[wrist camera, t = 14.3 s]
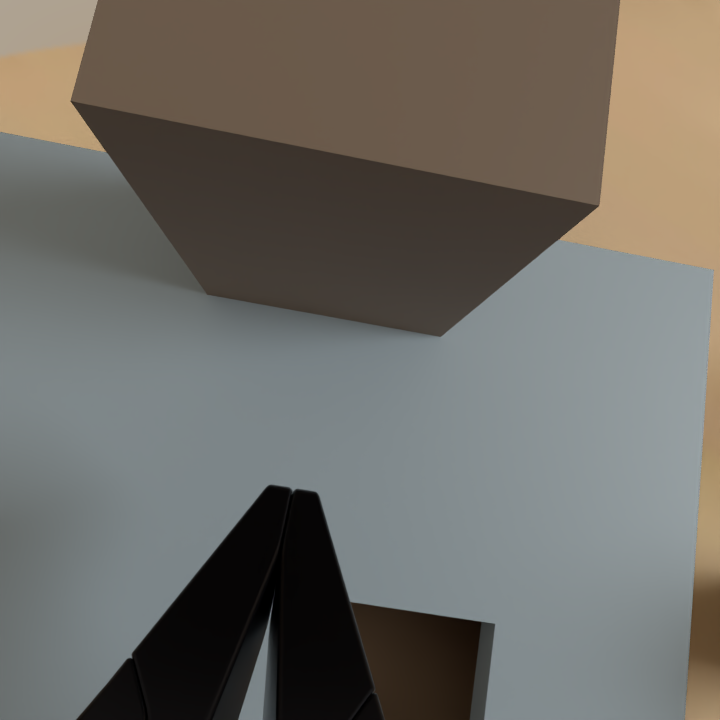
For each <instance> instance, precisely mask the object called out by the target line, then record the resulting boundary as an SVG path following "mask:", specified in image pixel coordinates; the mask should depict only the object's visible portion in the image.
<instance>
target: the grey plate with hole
mask: <svg viewBox="0 0 720 720" xmlns="http://www.w3.org/2000/svg"><path fill="white" fill-rule="evenodd" d="M619 5H620V0H98V2H97V6H96V10H95V13H94V17H93V21H92V25H91V28H90V32H89V36H88V40H87V43H86V46H85V50H84V54H83V57H82V61H81V65H80V68H79V72H78V76H77V79H76V83H75V87H74V90H73V94H72V98H71V102H72V104H73V105H74V107H75V108H76V109H77V111H78V112H79V114H80V115H81V116H82V118H83V119H84V121H85V122H86V124H87V125H88V126H89V128H90V129H91V131H92V132H93V133H94V135H95V136H96V138H97V139H98V141H99V142H100V143H101V145H102V146H103V148H104V149H105V150H106V152H107V153H106V152H101V151H96V150H91V149H85V148H80V147H75V146H70V145H65V144H60V143H54V142H49V141H44V140H39V139H34V138H29V137H23V136H18V135H13V134H8V133H3V132H0V720H76V719H77V718H78V717H79V715H80V714H81V713H82V712H83V711H84V710H85V708H86V707H87V706H88V705H89V704H90V703H91V701H92V700H93V699H94V698H95V697H96V695H97V694H98V693H99V692H100V691H101V690H102V688H103V687H104V686H105V685H106V684H107V683H108V681H109V680H110V679H111V678H112V676H113V675H114V674H115V673H116V672H117V670H118V669H119V668H120V667H121V665H122V664H123V663H124V662H125V660H126V659H127V658H132V652H133V651H134V650H135V648H136V647H137V646H138V645H139V644H140V642H141V641H142V640H143V639H144V637H145V636H146V635H147V634H148V632H149V631H150V630H151V629H152V627H153V626H154V625H155V624H156V622H157V621H158V620H159V619H160V618H161V616H162V615H163V614H164V613H165V611H166V610H167V609H168V608H169V606H170V605H171V604H172V603H173V601H174V600H175V599H176V598H177V597H178V595H179V594H180V593H181V592H182V590H183V589H184V588H185V587H186V585H187V584H188V583H189V582H190V580H191V579H192V578H193V577H194V576H195V574H196V573H197V572H198V571H199V569H200V568H201V567H202V566H203V564H204V563H205V562H206V561H207V559H208V558H209V557H210V556H211V554H212V553H213V552H214V551H215V550H216V548H217V547H218V546H219V545H220V543H221V542H222V541H223V540H224V538H225V537H226V536H227V535H228V533H229V532H230V531H231V530H232V529H233V527H234V526H235V525H236V524H237V522H238V521H239V520H240V519H241V517H242V516H243V515H244V514H245V512H246V511H247V510H248V509H249V508H250V506H251V505H252V504H253V503H254V501H255V500H256V499H257V498H258V496H259V495H260V494H261V493H262V491H263V490H264V489H265V488H266V487H267V486H268V485H271V484H273V485H279V486H285V487H290V488H291V489H292V491H294V490H295V489H304V490H310V491H315V492H317V493H318V495H319V497H320V500H321V503H322V507H323V510H324V514H325V517H326V520H327V524H328V527H329V531H330V534H331V538H332V541H333V544H334V548H335V551H336V555H337V558H338V562H339V565H340V568H341V572H342V575H343V579H344V582H345V585H346V589H347V592H348V596H349V599H350V602H354V603H361V604H367V605H374V606H381V607H387V608H394V609H401V610H407V611H414V612H421V613H427V614H434V615H441V616H447V617H454V618H460V619H467V620H474V621H480V622H481V630H480V639H479V647H478V655H477V663H476V671H475V680H474V688H473V696H472V704H471V713H470V720H685V709H686V693H687V678H688V662H689V647H690V631H691V616H692V600H693V584H694V569H695V553H696V538H697V522H698V507H699V491H700V475H701V460H702V444H703V429H704V413H705V398H706V382H707V366H708V351H709V335H710V320H711V304H712V289H713V273H714V270H711V269H706V268H701V267H695V266H690V265H685V264H680V263H675V262H670V261H664V260H659V259H654V258H649V257H644V256H639V255H633V254H628V253H623V252H618V251H613V250H608V249H602V248H597V247H592V246H587V245H582V244H577V243H571V242H566V241H561V240H558V239H560V238H561V237H562V236H563V235H565V234H566V233H567V232H568V231H569V230H571V229H572V228H573V227H574V226H575V225H577V224H578V223H579V222H580V221H581V220H583V219H584V218H585V217H586V216H588V215H589V214H590V213H591V212H592V211H594V210H595V209H596V208H597V207H598V206H599V204H600V194H601V184H602V174H603V164H604V154H605V144H606V134H607V124H608V114H609V105H610V95H611V85H612V75H613V65H614V55H615V45H616V35H617V25H618V15H619ZM292 494H293V493H292ZM272 605H273V604H272ZM271 611H272V609H271ZM270 618H271V613H270ZM270 618H269V622H268V625H267V629H266V632H265V636H264V639H263V642H262V646H261V649H260V652H259V655H258V658H257V661H256V665H255V668H254V671H253V674H252V677H251V681H250V684H249V687H248V690H247V693H246V697H245V700H244V703H243V706H242V709H241V712H240V716H239V719H238V720H263V707H264V693H265V679H266V665H267V650H268V636H269V626H270Z"/></svg>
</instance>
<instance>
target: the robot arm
mask: <svg viewBox="0 0 720 720" xmlns="http://www.w3.org/2000/svg"><path fill="white" fill-rule="evenodd" d="M292 493H293V494H292ZM272 604H273V605H272ZM271 609H272V611H271ZM270 613H271V618H270ZM269 618H270V626H269V636H268V650H267V665H266V679H265V693H264V707H263V720H385V718H384V715H383V711H382V708H381V704H380V701H379V698H378V695H377V694H376V693H374V692H375V685H374V681H373V678H372V675H371V671H370V668H369V664H368V661H367V657H366V654H365V651H364V647H363V644H362V640H361V637H360V633H359V630H358V627H357V623H356V620H355V616H354V613H353V609H352V606H351V603H350V599H349V596H348V592H347V589H346V585H345V582H344V579H343V575H342V572H341V568H340V565H339V562H338V558H337V555H336V551H335V548H334V544H333V541H332V538H331V534H330V531H329V527H328V524H327V520H326V517H325V514H324V510H323V507H322V503H321V500H320V497H319V495H318V493H317V492H315V491H310V490H304V489H295V490H294V491H292V489H291V488H290V487H285V486H279V485H273V484H271V485H268V486H267V487H266V488H265V489H264V490H263V491H262V493H261V494H260V495H259V496H258V498H257V499H256V500H255V501H254V503H253V504H252V505H251V506H250V508H249V509H248V510H247V511H246V512H245V514H244V515H243V516H242V517H241V519H240V520H239V521H238V522H237V524H236V525H235V526H234V527H233V529H232V530H231V531H230V532H229V533H228V535H227V536H226V537H225V538H224V540H223V541H222V542H221V543H220V545H219V546H218V547H217V548H216V550H215V551H214V552H213V553H212V554H211V556H210V557H209V558H208V559H207V561H206V562H205V563H204V564H203V566H202V567H201V568H200V569H199V571H198V572H197V573H196V574H195V576H194V577H193V578H192V579H191V580H190V582H189V583H188V584H187V585H186V587H185V588H184V589H183V590H182V592H181V593H180V594H179V595H178V597H177V598H176V599H175V600H174V601H173V603H172V604H171V605H170V606H169V608H168V609H167V610H166V611H165V613H164V614H163V615H162V616H161V618H160V619H159V620H158V621H157V622H156V624H155V625H154V626H153V627H152V629H151V630H150V631H149V632H148V634H147V635H146V636H145V637H144V639H143V640H142V641H141V642H140V644H139V645H138V646H137V647H136V648H135V650H134V651H133V652H132V658H127V659H126V660H125V662H124V663H123V664H122V665H121V667H120V668H119V669H118V670H117V672H116V673H115V674H114V675H113V676H112V678H111V679H110V680H109V681H108V683H107V684H106V685H105V686H104V687H103V688H102V690H101V691H100V692H99V693H98V694H97V695H96V697H95V698H94V699H93V700H92V701H91V703H90V704H89V705H88V706H87V707H86V708H85V710H84V711H83V712H82V713H81V714H80V715H79V717H78V718H77V719H76V720H238V719H239V716H240V712H241V709H242V706H243V703H244V700H245V697H246V693H247V690H248V687H249V684H250V681H251V677H252V674H253V671H254V668H255V665H256V661H257V658H258V655H259V652H260V649H261V646H262V642H263V639H264V636H265V632H266V629H267V625H268V622H269Z"/></svg>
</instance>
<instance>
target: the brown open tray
mask: <svg viewBox="0 0 720 720" xmlns="http://www.w3.org/2000/svg"><path fill="white" fill-rule="evenodd" d="M350 603H351V606H352V609H353V613H354V616H355V620H356V623H357V627H358V630H359V633H360V637H361V640H362V644H363V647H364V651H365V654H366V657H367V661H368V664H369V668H370V671H371V675H372V678H373V681H374V685H375V692H374V693H376V694H377V695H378V698H379V701H380V704H381V708H382V711H383V715H384V718H385V720H470V713H471V704H472V696H473V688H474V680H475V671H476V663H477V655H478V647H479V639H480V630H481V622H480V621H474V620H467V619H460V618H454V617H447V616H441V615H434V614H427V613H421V612H414V611H407V610H401V609H394V608H387V607H381V606H374V605H367V604H361V603H354V602H350Z"/></svg>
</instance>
